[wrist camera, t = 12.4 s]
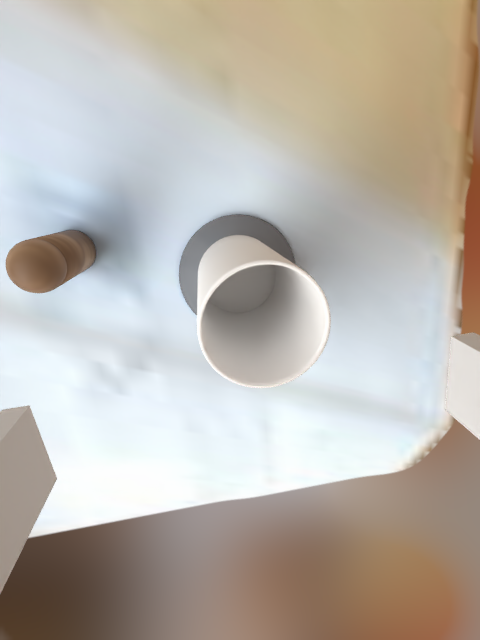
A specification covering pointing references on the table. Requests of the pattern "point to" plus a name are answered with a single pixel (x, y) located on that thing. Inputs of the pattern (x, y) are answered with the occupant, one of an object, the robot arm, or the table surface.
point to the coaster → (218, 231)
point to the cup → (258, 314)
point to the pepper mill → (49, 260)
